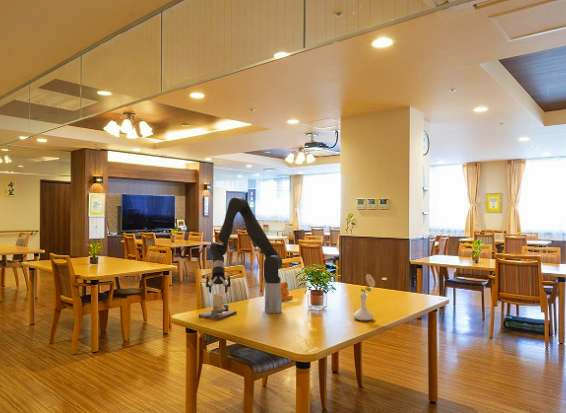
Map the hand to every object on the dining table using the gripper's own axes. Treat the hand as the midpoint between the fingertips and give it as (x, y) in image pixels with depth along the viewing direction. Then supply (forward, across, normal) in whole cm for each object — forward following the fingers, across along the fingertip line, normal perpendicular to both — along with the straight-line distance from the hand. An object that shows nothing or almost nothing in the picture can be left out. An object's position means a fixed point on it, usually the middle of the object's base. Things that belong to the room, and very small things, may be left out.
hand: (218, 292), depth 240 cm
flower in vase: (+24, +80, -6) cm, 84 cm away
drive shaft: (+7, +4, +9) cm, 12 cm away
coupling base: (+12, 0, +6) cm, 13 cm away
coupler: (+10, 0, +5) cm, 11 cm away
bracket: (-17, +44, +35) cm, 59 cm away
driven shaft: (+15, -2, +1) cm, 15 cm away
